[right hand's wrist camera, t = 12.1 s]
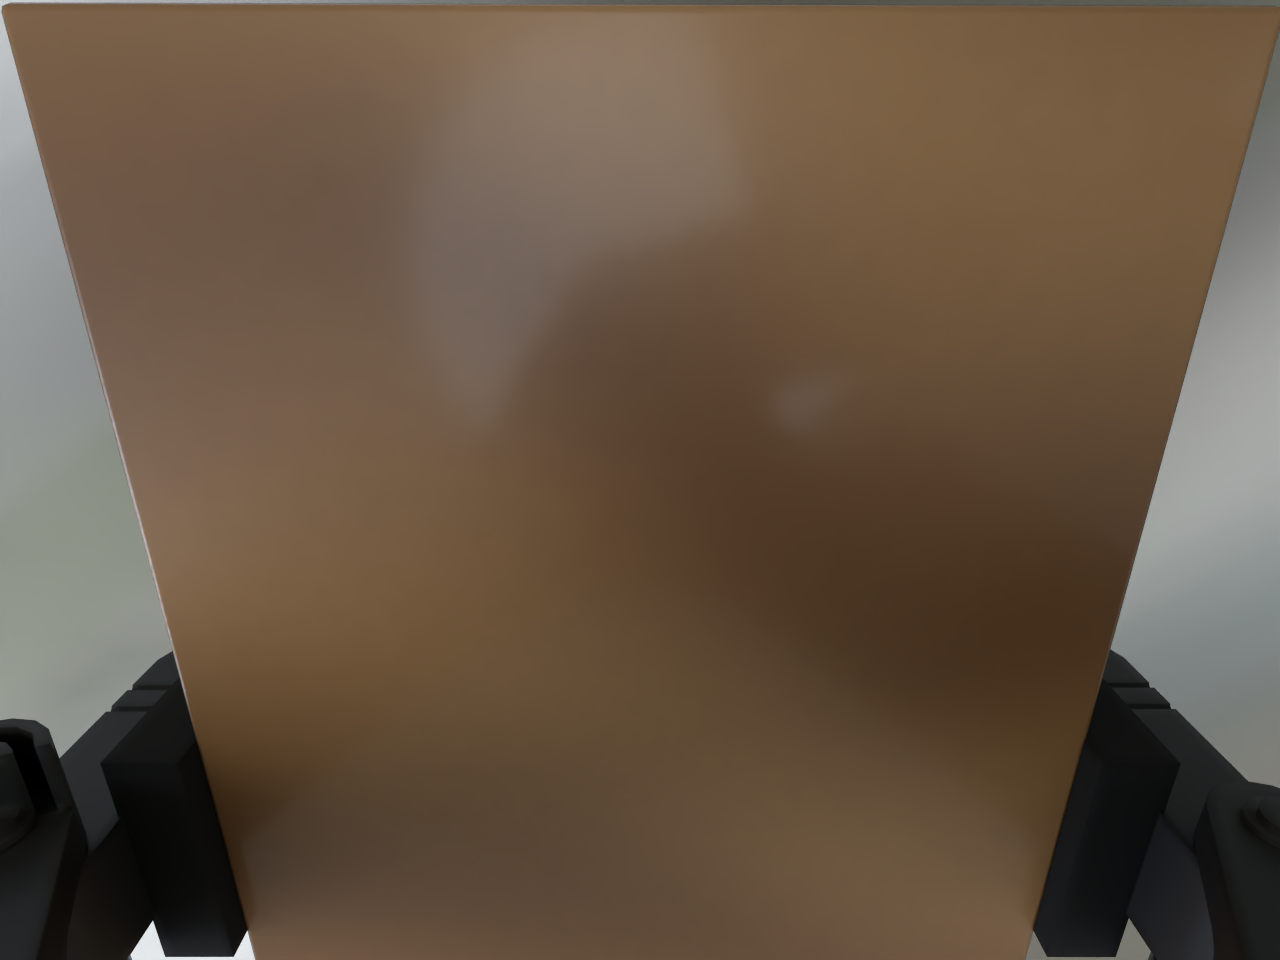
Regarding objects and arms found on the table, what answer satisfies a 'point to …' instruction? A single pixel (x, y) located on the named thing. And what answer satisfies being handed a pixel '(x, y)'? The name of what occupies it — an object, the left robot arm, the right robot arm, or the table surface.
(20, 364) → the table surface
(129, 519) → the table surface
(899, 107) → the slab
